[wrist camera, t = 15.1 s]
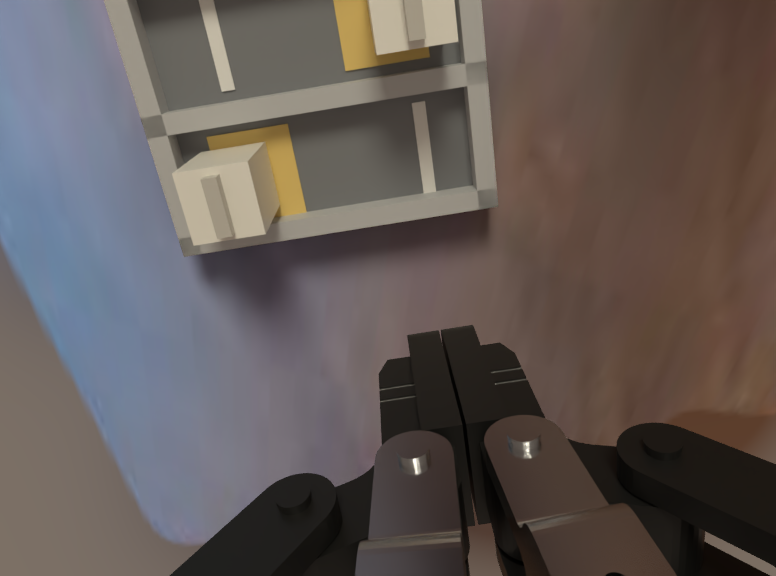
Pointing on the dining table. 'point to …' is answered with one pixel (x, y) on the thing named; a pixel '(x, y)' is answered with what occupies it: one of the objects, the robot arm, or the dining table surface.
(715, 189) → the dining table surface
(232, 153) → the tab
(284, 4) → the switch bank
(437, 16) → the tab
